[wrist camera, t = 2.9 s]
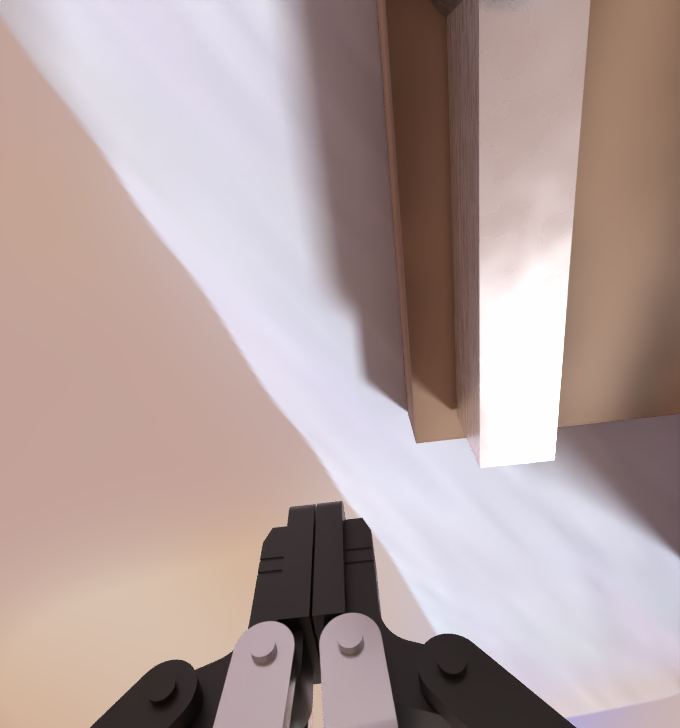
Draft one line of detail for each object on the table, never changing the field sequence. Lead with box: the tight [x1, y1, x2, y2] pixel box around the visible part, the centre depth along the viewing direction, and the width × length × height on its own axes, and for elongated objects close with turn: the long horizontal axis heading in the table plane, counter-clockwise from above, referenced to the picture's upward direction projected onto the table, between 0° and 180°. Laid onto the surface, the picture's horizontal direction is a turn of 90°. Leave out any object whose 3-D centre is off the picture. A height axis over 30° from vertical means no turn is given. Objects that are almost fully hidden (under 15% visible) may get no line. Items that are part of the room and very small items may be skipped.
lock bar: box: [431, 0, 590, 468], centre depth 16 cm, size 20×5×5 cm, turn 7°
